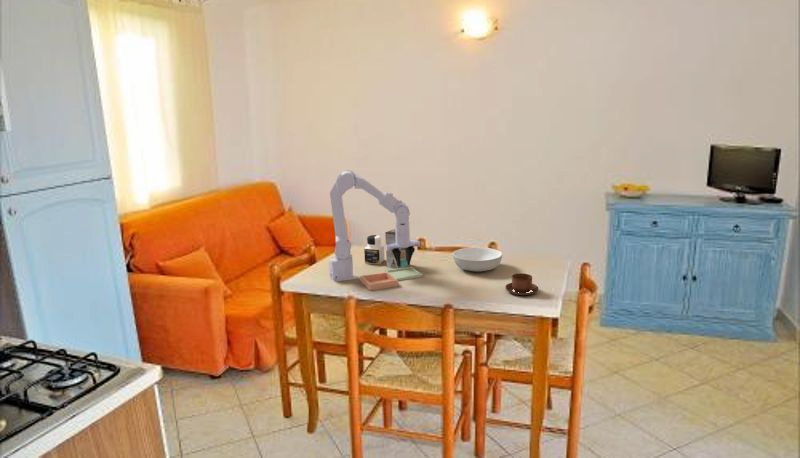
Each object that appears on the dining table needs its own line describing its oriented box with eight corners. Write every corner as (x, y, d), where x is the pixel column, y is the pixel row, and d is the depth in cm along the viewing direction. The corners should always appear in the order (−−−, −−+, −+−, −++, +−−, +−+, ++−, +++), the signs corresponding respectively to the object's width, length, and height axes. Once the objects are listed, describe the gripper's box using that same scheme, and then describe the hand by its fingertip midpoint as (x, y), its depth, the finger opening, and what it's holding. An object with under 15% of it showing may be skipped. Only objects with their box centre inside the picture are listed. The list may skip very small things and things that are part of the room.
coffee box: (398, 262, 246) (398, 227, 242) (410, 264, 242) (409, 229, 238) (386, 267, 239) (384, 231, 235) (397, 270, 235) (396, 233, 231)
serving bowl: (499, 261, 244) (500, 246, 242) (503, 276, 224) (504, 260, 222) (452, 261, 246) (452, 246, 244) (452, 276, 226) (452, 260, 224)
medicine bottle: (364, 263, 245) (363, 237, 243) (370, 259, 252) (369, 233, 249) (379, 264, 243) (378, 238, 241) (384, 259, 250) (384, 234, 247)
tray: (395, 282, 220) (395, 278, 220) (384, 273, 231) (384, 270, 230) (422, 277, 224) (422, 274, 224) (411, 269, 235) (410, 266, 235)
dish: (369, 291, 210) (369, 284, 209) (360, 282, 221) (360, 275, 220) (398, 287, 214) (397, 280, 214) (387, 278, 225) (387, 271, 224)
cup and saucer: (543, 291, 207) (544, 275, 205) (528, 300, 198) (528, 284, 197) (515, 284, 214) (516, 269, 213) (499, 293, 206) (499, 277, 204)
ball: (400, 269, 224) (400, 260, 223) (397, 266, 228) (397, 258, 227) (409, 267, 226) (409, 259, 225) (405, 265, 229) (405, 257, 228)
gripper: (389, 237, 217) (390, 270, 220) (422, 233, 222) (423, 265, 225) (383, 233, 223) (384, 265, 227) (415, 229, 229) (416, 260, 232)
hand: (403, 265), depth 226 cm, fingers closed on ball, 4 cm apart
